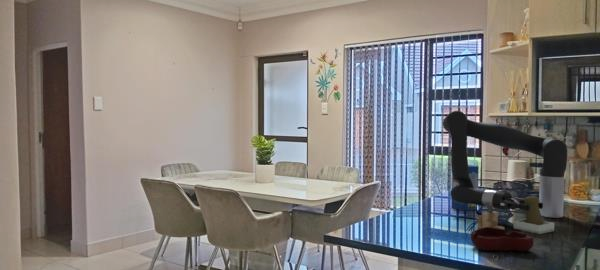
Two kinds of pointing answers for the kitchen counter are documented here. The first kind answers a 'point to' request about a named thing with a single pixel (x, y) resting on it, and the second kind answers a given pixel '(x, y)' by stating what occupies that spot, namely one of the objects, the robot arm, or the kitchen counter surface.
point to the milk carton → (474, 178)
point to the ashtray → (500, 240)
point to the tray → (533, 226)
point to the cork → (533, 211)
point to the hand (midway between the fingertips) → (536, 206)
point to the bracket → (489, 219)
